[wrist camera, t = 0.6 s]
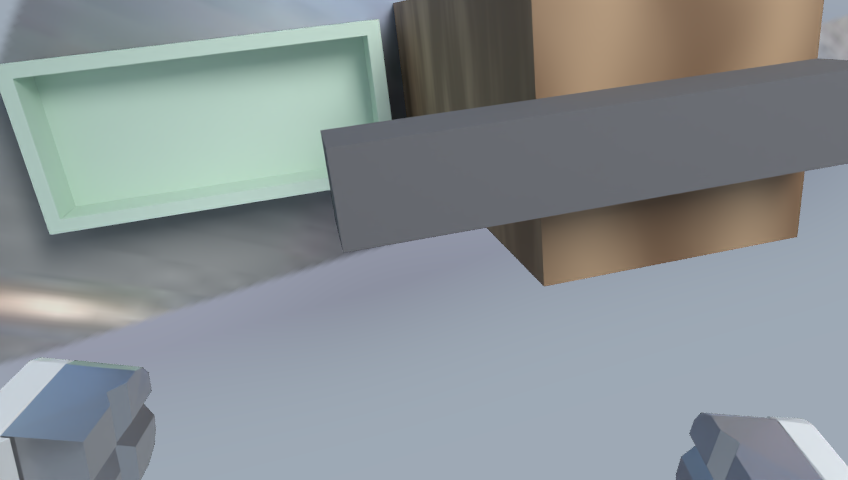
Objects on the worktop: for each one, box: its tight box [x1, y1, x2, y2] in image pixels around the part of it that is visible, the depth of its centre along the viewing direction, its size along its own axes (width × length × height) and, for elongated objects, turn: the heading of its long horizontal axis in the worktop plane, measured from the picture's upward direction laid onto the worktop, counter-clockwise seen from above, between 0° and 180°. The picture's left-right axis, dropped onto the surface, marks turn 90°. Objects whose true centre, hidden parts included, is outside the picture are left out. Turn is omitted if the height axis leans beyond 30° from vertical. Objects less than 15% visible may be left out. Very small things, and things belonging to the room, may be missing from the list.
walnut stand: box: [393, 0, 824, 286], centre depth 38 cm, size 12×12×30 cm
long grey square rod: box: [320, 58, 848, 253], centre depth 22 cm, size 20×3×3 cm, turn 96°
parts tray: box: [0, 19, 392, 235], centre depth 47 cm, size 26×12×5 cm, turn 96°
